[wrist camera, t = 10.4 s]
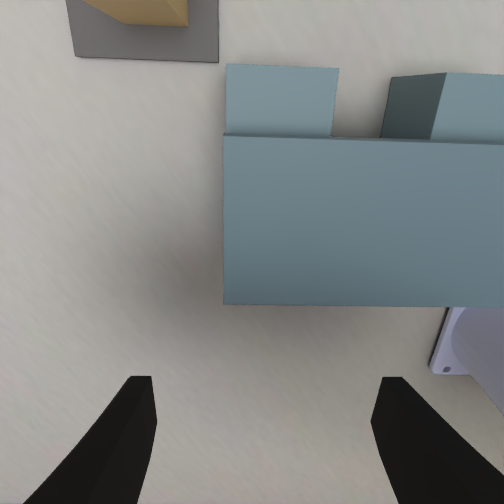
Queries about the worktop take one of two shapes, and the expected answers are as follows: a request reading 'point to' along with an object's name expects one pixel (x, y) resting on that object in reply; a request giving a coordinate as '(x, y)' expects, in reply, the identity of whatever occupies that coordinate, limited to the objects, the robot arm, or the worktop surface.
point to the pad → (145, 35)
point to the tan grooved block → (145, 11)
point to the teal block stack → (363, 193)
